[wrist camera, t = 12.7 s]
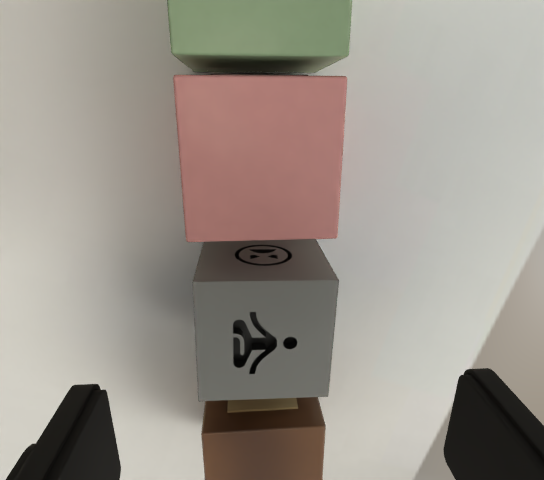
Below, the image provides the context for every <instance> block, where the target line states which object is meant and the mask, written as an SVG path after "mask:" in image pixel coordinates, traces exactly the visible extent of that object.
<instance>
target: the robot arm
mask: <svg viewBox="0 0 544 480" xmlns="http://www.w3.org/2000/svg"><path fill="white" fill-rule="evenodd" d="M444 457H445V460H446V463H447V465H448V467H449V468H450V470H451V472H452V474H453V476H454V477H455V479H456V480H544V426H543V425H542V423H541V422H540V421H539V420H538V419H537V418H536V417H535V416H534V415H533V414H532V413H531V412H530V410H529V409H528V408H527V407H526V406H525V405H524V404H523V403H522V402H521V401H520V400H519V399H518V397H517V396H516V395H515V394H514V393H513V392H512V391H511V390H510V389H509V388H508V386H507V385H506V384H505V383H504V382H503V381H502V380H501V379H500V378H499V377H498V376H497V374H496V373H495V372H494V371H492V370H491V369H488V368H486V369H468V370H466V371H465V372H464V375H461V376H460V377H459V379H458V384H457V389H456V393H455V398H454V403H453V407H452V412H451V417H450V421H449V426H448V431H447V435H446V440H445V445H444ZM120 472H121V466H120V460H119V454H118V449H117V444H116V438H115V433H114V428H113V422H112V417H111V412H110V406H109V401H108V396H107V392H106V390H100V387H99V385H98V384H87V385H74V386H72V387H71V388H70V390H69V391H68V393H67V395H66V396H65V398H64V399H63V401H62V403H61V404H60V406H59V407H58V409H57V411H56V412H55V414H54V416H53V417H52V419H51V420H50V422H49V424H48V425H47V427H46V428H45V430H44V432H43V433H42V435H41V436H40V438H39V440H38V441H37V443H36V444H32V445H30V446H29V447H28V448H27V449H26V450H25V451H24V452H23V454H22V455H21V457H20V458H19V460H18V461H17V463H16V465H15V466H14V468H13V469H12V471H11V472H10V474H9V475H8V477H7V479H6V480H119V478H120Z"/></svg>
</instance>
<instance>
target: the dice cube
mask: <svg viewBox="0 0 544 480" xmlns="http://www.w3.org/2000/svg"><path fill="white" fill-rule="evenodd" d="M338 284H339V280H338V278H337V276H336V274H335V273H334V271H333V269H332V267H331V266H330V264H329V262H328V260H327V259H326V257H325V255H324V253H323V252H322V250H321V248H320V246H319V245H318V243H317V241H316V239H291V240H251V241H211V242H204V243H203V247H202V250H201V254H200V257H199V261H198V265H197V268H196V272H195V275H194V279H193V299H194V320H195V340H196V361H197V381H198V401H220V400H248V399H275V398H303V397H328V392H329V381H330V371H331V360H332V349H333V338H334V327H335V317H336V306H337V295H338Z"/></svg>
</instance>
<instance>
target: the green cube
mask: <svg viewBox="0 0 544 480" xmlns="http://www.w3.org/2000/svg"><path fill="white" fill-rule="evenodd" d="M167 6H168V19H169V31H170V44H171V53H172V54H173V55H174V56H175V57H176V58H178V59H179V60H180V61H181V62H183V63H184V64H185V65H186V66H187V67H189V68H190V69H191V70H192V71H194V72H285V73H315V72H317V71H319V70H321V69H323V68H325V67H327V66H329V65H331V64H333V63H335V62H337V61H339V60H341V59H343V58H345V57H347V56H348V55H349V42H350V26H351V10H352V0H167Z"/></svg>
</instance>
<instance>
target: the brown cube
mask: <svg viewBox="0 0 544 480" xmlns="http://www.w3.org/2000/svg"><path fill="white" fill-rule="evenodd" d="M325 427H326V426H325V422H324V418H323V415H322V411H321V407H320V403H319V400H318V397H303V398H275V399H248V400H220V401H205V408H204V417H203V425H202V433H201V435H202V448H203V460H204V473H205V480H322V475H323V459H324V443H325Z"/></svg>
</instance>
